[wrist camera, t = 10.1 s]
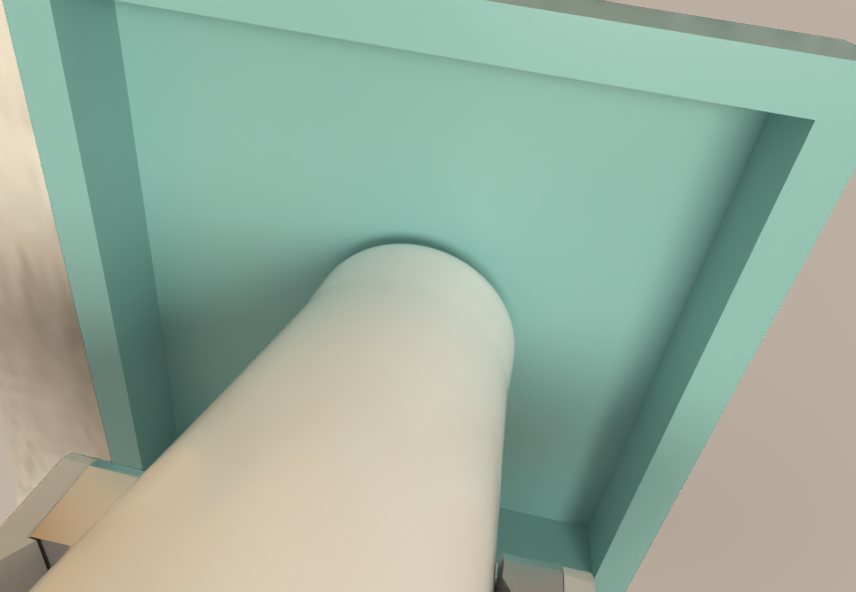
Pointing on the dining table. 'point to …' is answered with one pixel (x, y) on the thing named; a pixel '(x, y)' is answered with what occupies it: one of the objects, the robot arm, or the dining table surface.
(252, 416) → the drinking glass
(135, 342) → the tray
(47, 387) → the dining table surface
